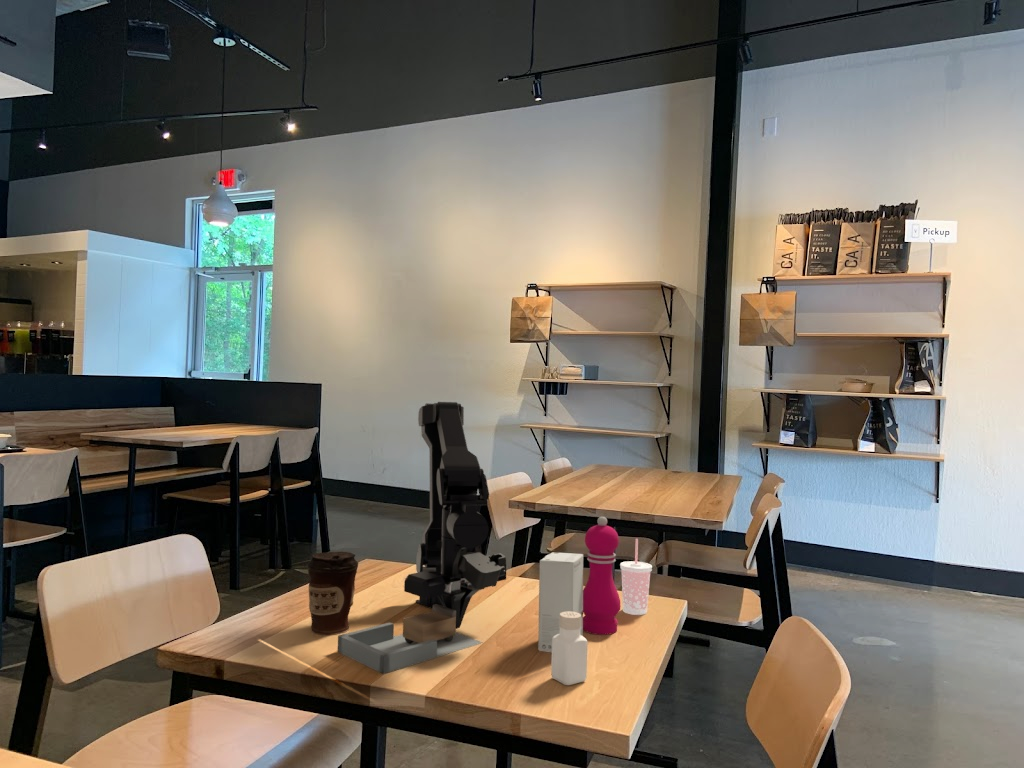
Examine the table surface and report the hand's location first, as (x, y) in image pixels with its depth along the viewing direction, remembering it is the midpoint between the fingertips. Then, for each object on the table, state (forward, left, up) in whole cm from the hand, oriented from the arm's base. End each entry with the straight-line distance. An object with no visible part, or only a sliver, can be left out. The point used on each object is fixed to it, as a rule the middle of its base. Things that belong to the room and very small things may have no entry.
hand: (456, 628), depth 123 cm
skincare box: (-10, +15, -2) cm, 18 cm away
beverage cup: (-36, +12, -2) cm, 38 cm away
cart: (+6, 0, -1) cm, 6 cm away
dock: (+9, 0, -1) cm, 9 cm away
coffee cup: (+14, -16, -2) cm, 22 cm away
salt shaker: (0, +25, -2) cm, 25 cm away
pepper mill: (-22, +14, -2) cm, 26 cm away
